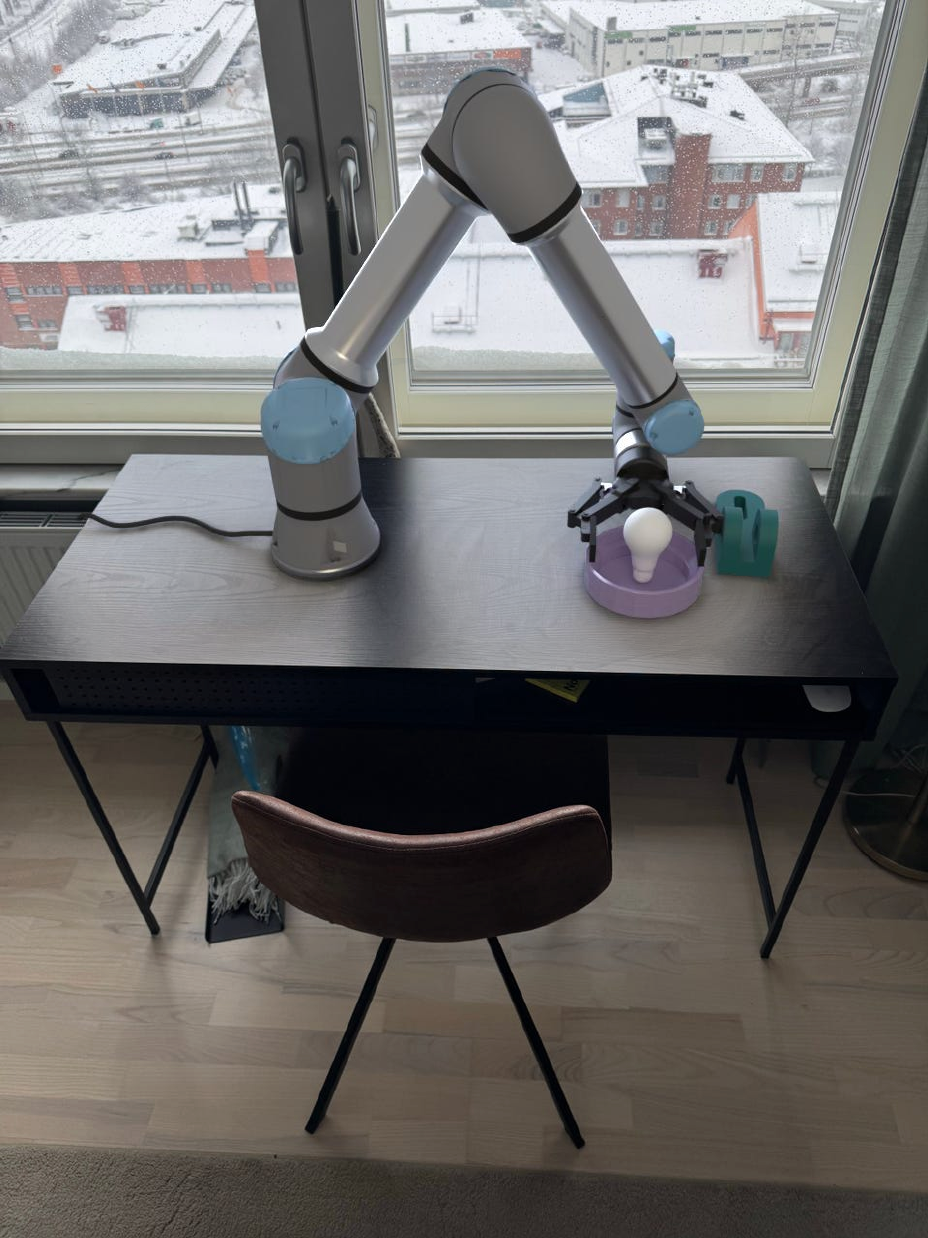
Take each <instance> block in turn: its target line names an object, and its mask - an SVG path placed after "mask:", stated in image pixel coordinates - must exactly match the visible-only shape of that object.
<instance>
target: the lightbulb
mask: <svg viewBox="0 0 928 1238" xmlns="http://www.w3.org/2000/svg"><path fill="white" fill-rule="evenodd" d="M623 526H624V531H623V534H624V539H625V542H626V544H627V546H628V548H629V549H630V551H631V554H632V565H633V578H634V579H635V580H636V581H638V582H640V583H646V582H649V581H650V580H651V579H652V576H653V572H654V568H655V567H656V564H657V560H658V557H659V555H660V554H661V553H662V552H663V551H664V550H665V548H666V547H667V546H668V544H669V543H670V540H671V538H672V530H673V525H672V522H671V520H670V518H669V517H668V515H665V514H664V513H663V512H662V511H660V510H658V509H655V508H642V509H639V510H634V512H632V513H631V514H630V515H629V516H628V517H627V519H626V520H625V523H624V525H623Z"/></svg>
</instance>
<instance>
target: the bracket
mask: <svg viewBox="0 0 928 1238" xmlns="http://www.w3.org/2000/svg"><path fill="white" fill-rule="evenodd" d="M714 507H716V508H717V509H718V510H719V511H720V512H721V513H722V514H723V515H724V522H723V527H722V532H721V533H720V534H715V533H714V535H715V536H714V538H715V539H714V541H715V557H716V558H715V559H716V573H717V575H718V574H719V575H728V576H729V575H730V576H731V575H732V576H742V577H754V578H755V577H757V578H767V579H769V578H770V576H771V572H772V568H773V563H774V558H775V554H776V549H777V545H778V539H779V538H778V537H779V526H780V525H779V524H780V522H779V521H780V520H779V519H780V518H779V511H778V510H777V509H766V505H765V502H764V500H763V498H762V497H761V496H759V495H758V494H757V493H754V492H752V491H748V490H744V489H727V490H725V491H721V492H720V493H719V494H718V495H717V496H716V499H715V504H714Z"/></svg>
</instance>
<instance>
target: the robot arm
mask: <svg viewBox="0 0 928 1238" xmlns="http://www.w3.org/2000/svg"><path fill="white" fill-rule="evenodd" d="M445 99H446V100H445V102H444V104H443V108H442V109H443V110H442V115H441V118H440V120H439V121H438V123H437V124H436V126H435V128H434V129H433V131H432V133H431V134H430V136H429V137H428V139H427V141H426V142H425V144H424V145H423V147H422V148H421V150H420V152H419V159H420V167H421V174H420V176H419V177H418V178H417V180H416V182H415V183H414V185H413V186H412V188H411V190H410V191H409V193H408V194H407V196H406V197H405V199H404V200H403V202H402V204H401V205H400V207H399V208H398V209H397V212H396V213H395V215H394V217H393V218H392V219H391V221H390V222H389V224H388V225H387V227H386V228H385V230H384V232H383V233H382V235H381V237H380V238H379V240H378V241H377V243H376V244H375V246H374V247H373V249H372V251H371V252H370V254H369V255H368V257H367V258H366V260H365V261H364V263H363V265H361V266H362V267H361V268H360V269H359V271H358V272H357V274H356V275H355V277H354V279H353V280H352V282H351V283H350V284H349V287H348V288H347V290H346V291H345V293H344V294H343V296H342V297H341V299H340V300H339V302H338V304H337V305H336V306H335V309H334V310H333V311H332V313H331V314H330V315H329V318H328V320H327V321H326V322H325V324H324V325H323V326H321V327H312V328H309V329H307V331H306V332H305V334H304V335H303V337H302V339H301V340H300V342H298V345H296V346H294V347H293V348H291V349H290V350H289V351H288V352H287V353H286V354H285V355H284V357H283V358H282V359H281V361H280V362H279V365H278V366H277V368H276V370H275V372H274V378H273V380H272V381H273V382H272V383H273V384H272V390H271V391H269V392H268V393H267V394H266V396H265V398H263V401H262V403H261V407H260V432H261V436H262V438H263V441H264V445H265V450H266V455H267V460H268V461H267V462H268V467H269V471H270V476H271V483H272V487H273V493H274V497H275V503H276V511H275V512H276V513H275V519H274V524H273V529H272V530H237V531H231V530H230V531H228V530H223V529H219V528H216V527H214V526H211V525H209V524H208V523H206V522H203V521H202V520H199V519H197V518H194V517H191V516H186V515H163V516H157V517H153V518H148V519H144V520H143V519H142V520H138V521H132V522H114V521H110V520H107V519H105V518H102V517H101V516H98V515H97V514H94V513H92V512H82V513H80V514H79V515H78V516H77V517H76V518H75V521H77V522H80V521H83V520H84V519H86V518H87V519H90V520H93V521H95V522H98V523H99V524H101V525H104V526H106V527H110V528H113V529H132V528H139V527H143V526H145V527H146V526H149V525H150V526H151V525H154V524H159V523H166V522H184V523H185V522H186V523H190V524H194V525H196V526H198V527H200V528H202V529H204V530H206V531H208V532H210V533H212V534H214V535H218V536H221V537H225V538H226V537H227V538H241V537H243V538H244V537H271V542H270V548H271V554H272V558H273V561H274V564H275V565H276V566H277V568H279V569H280V571H282V572H283V573H285V574H287V575H288V576H292V577H294V578H296V579H301V580H305V581H316V582H318V581H333V580H337V579H341V578H346V577H348V576H351V575H354V574H356V573H359V572H360V571H362V570H363V569H365V568H366V567H369V565H371V564H372V563H373V562H374V561H375V560H376V558H377V557H378V555H379V553H380V551H381V547H382V543H381V541H382V540H381V533H380V528H379V526H378V523H377V522H376V521H375V519H374V518H373V517H372V515H371V512H370V510H369V508H368V505H367V504H366V502H365V500H364V497H363V492H362V482H361V474H360V465H359V457H358V445H357V443H358V442H357V413H358V411H359V409H360V408H361V407H362V405H363V404H364V402H365V401H366V399H367V398H368V396H370V393H371V392H373V391H372V390H373V389H374V387H375V386H376V385H377V384H378V382H379V374H378V369H377V365H378V362H379V361H380V360H381V358H382V357H383V355H384V354H385V352H386V351H387V350H388V348H389V346H390V345H391V344H392V342H393V341H394V339H395V338H396V337H397V335H398V334H399V332H400V331H401V329H402V327H403V326H404V325H405V323H406V322H407V320H408V319H409V317H410V316H411V314H412V313H413V311H414V310H415V309H416V308H417V306H418V304H419V303H420V301H421V300H422V299H423V297H424V296H425V294H426V293H427V291H428V290H429V289H430V287H431V286H432V284H433V283H434V281H435V280H436V279H437V277H438V275H439V274H440V273H441V271H442V270H443V268H444V267H445V265H446V264H447V262H448V261H449V259H451V257H452V255H453V254H454V252H455V251H456V250H457V248H458V246H459V245H460V244H461V242H463V241H462V240H463V239H464V238H465V237H466V235H467V233H469V231H470V229H471V227H472V226H473V225H474V224H475V222H476V221H477V219H479V218H481V217H487V216H492V217H494V218H495V220H496V221H497V223H498V224H499V225H500V227H501V228H502V230H503V231H504V232H505V234H506V236H507V237H508V239H509V240H510V242H511V243H512V244H513V245H515V246H519V247H524V248H526V250H527V251H528V253H529V255H530V256H531V257H532V259H533V260H534V262H535V263H536V265H537V267H538V269H539V270H540V271H541V273H542V275H543V277H544V278H545V279H546V281H547V282H548V284H549V285H550V287H551V289H552V290H553V291H554V293H555V295H556V296H557V298H558V299H559V301H560V302H561V304H562V305H563V307H564V309H565V311H566V312H567V314H568V315H569V317H570V318H571V320H572V321H573V322H574V324H575V326H576V327H577V329H578V330H579V332H580V333H581V335H582V337H583V338H584V340H585V342H586V343H587V344H588V346H589V348H590V349H591V351H592V353H593V354H594V355H595V357H596V358H597V360H598V361H599V363H600V365H601V366H602V368H603V370H605V372H606V375H608V377H609V379H610V380H611V382H612V383H613V385H614V386H615V388H616V400H615V409H614V413H613V417H612V427H611V434H612V438H613V440H612V441H613V469H614V470H613V477H614V481H613V482H612V483H609V482H603V478H601V477H599V476H595V477H593V479H592V483H591V485H590V487H589V488H588V489H587V490H586V491H584V493H582V495H581V496H579V498H578V499H577V500H576V501H575V502H574V503H573V504H572V505H570V507H569V508H568V509H567V520H566V521H567V523H566V526H567V528H569V529H574V528H576V527H578V528H579V530H580V531H579V532H580V541H581V543H588V545H589V562H595V556H596V536H597V526H598V525H601V524H602V523H603V522H605V521H606V520H608V519H610V518H612V517H613V516H615V515H616V514H619V515H620V514H622V513H624V512H626V511H627V510H629V509H631V510H633V511H637V510H639V509H642V508H655V509H658V510H660V511H662V512H663V513H664V514H665V515H666V516H670V517H671V518H672V519H674V520H676V521H677V522H679V523H680V524H682V525H683V526H685V527H686V528H688V529H689V530H692V531H693V542H694V543H695V550H696V557H697V564H698V567H704V565H705V563H706V558H707V552H708V548H711V547H712V543H713V538H714V537H713V536H714V535H715V534H720V533H721V532H722V527H723V522H724V515H723V514H722V513H721V512H720V511H719V510H718V509H717V508H716V507H715V505H714V504H713V503H711V502H710V501H709V500H708V499H707V497H705V496H704V495H703V494H702V493H701V492H700V491H699V490H698V489H697V488H696V485H695V483H694V481H692V480H685V481H684V485H674V484H673V483H672V482H671V480H670V474H669V466H668V458H667V456H672V457H673V456H679V455H683V454H684V453H686V452H688V451H690V450H692V449H693V448H694V447H695V446H697V444H698V443H699V442H700V441H701V439H702V437H703V435H704V432H705V419H704V416H703V415H702V410H701V409H700V406H699V405H698V403H697V402H696V401H695V400H694V398H693V397H692V395H691V393H690V392H689V390H688V388H687V386H686V385H685V383H684V381H683V379H682V378H681V376H680V375H679V373H678V371H677V369H676V367H675V366H674V360H675V357H676V353H675V350H676V341H675V338H674V337H673V336H672V335H671V334H670V333H669V332H667V331H664V330H662V329H657V328H653V327H652V326H651V324H650V323H649V320H648V319H647V317H646V316H645V314H644V312H643V311H642V308H641V307H640V305H639V303H638V302H637V300H636V298H635V296H634V295H633V294H632V292H631V290H630V288H629V286H628V284H627V283H626V281H625V280H624V277H623V276H622V274H621V273H620V271H619V269H618V268H617V265H616V264H615V262H614V260H613V259H612V257H611V255H610V254H609V251H608V250H607V248H606V247H605V245H604V243H603V241H602V240H601V238H600V236H599V235H598V233H597V231H596V229H595V228H594V225H593V224H592V223H591V220H590V219H589V217H588V216H587V214H586V212H585V211H584V209H583V208H582V202H583V197H584V190H583V188H582V187H581V185H580V183H579V181H578V180H577V177H576V176H575V174H574V172H573V170H572V168H571V166H570V163H569V161H568V159H567V156H566V154H565V152H564V150H563V147H562V144H561V142H560V139H559V136H558V134H557V131H556V128H555V126H554V124H553V121H552V118H551V116H550V113H549V112H548V111H547V109H546V107H545V105H544V104H543V102H541V101H540V100H539V97H538V95H537V93H536V91H535V89H534V88H533V87H531V85H530V84H529V83H528V82H527V80H526V79H525V78H523V77H521V76H519V75H518V74H517V73H515V72H514V71H511V70H508V69H506V68H503V67H498V66H485V67H480V68H476V69H473V70H472V71H470V72H468V73H466V74H465V75H463V76H462V77H461V78H460V79H459V80H458V81H456V83H455V84H454V85H453V86H452V88H451V89H450V91H449V92H448V94H447V96H446V98H445ZM607 494H610V495H608V496H606V495H607ZM605 496H606V497H605ZM713 534H714V535H713Z"/></svg>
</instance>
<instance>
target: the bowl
mask: <svg viewBox="0 0 928 1238" xmlns="http://www.w3.org/2000/svg"><path fill="white" fill-rule="evenodd" d="M623 531H624V525H621V526H619V525H618V526H616V527H613V528H610V529H607V530H604V531H602V532H600V533H599V534H598V535H596V556H595V562H589V544H588V545H587V547H586V549H585V558H584V574H583V585H584V587H585V589H586V591H587V593H588V595H589V596H590V597H591V598H592V599H593V600H594V601H595V602H596V603H597V604H599V606H602V607H604V608H605V609H607V610H609V611H611V612H612V613H615V614H618V615H623V616H626V617H631V618H642V619H655V618H656V619H657V618H664V617H670V616H673V615H676V614H678V613H681V612H683V611H685V610H687V609H688V608H689V607H690V606H692V605H693V604H694V603H695V602H696V601H697V599H698V597H699V595H700V593H701V591H702V585H703V580H704V573H705V567H706V565H705V564H704V567H698V564H697V557H696V550H695V543H694V541H692V540H691V539H690V538H689V537H687V536H686V535H684V534H681V533H679V532H677V531H674V530H673V529H672V538H671V540H670V543H669V544H668V546H667V547H666V548H665V550H664V551H663V552H662V553H661V554H660V555H659V557H658V560H657V564H656V567H655V568H654V572H653V576H652V579H651V580H650V581H649V582H646V583H640V582H638V581H636V580H635V579H634V578H633V565H632V554H631V551H630V549H629V548H628V546H627V544H626V542H625V539H624V534H623Z"/></svg>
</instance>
